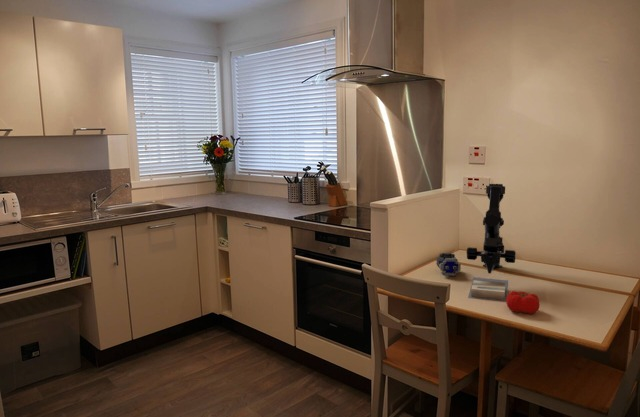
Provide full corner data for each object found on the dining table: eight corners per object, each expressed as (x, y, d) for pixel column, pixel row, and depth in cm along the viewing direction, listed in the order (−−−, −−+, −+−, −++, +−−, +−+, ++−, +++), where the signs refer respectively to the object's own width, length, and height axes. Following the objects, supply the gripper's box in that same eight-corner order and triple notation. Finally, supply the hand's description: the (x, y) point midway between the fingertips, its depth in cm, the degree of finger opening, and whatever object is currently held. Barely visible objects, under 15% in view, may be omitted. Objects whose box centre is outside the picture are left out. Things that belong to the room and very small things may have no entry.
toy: (441, 260, 203) (435, 251, 218) (441, 279, 205) (435, 269, 219) (461, 260, 203) (454, 251, 218) (461, 279, 204) (454, 269, 219)
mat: (473, 278, 205) (473, 277, 205) (507, 281, 200) (507, 280, 200) (467, 298, 180) (467, 297, 180) (507, 303, 174) (507, 302, 174)
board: (473, 279, 192) (471, 288, 181) (505, 282, 187) (504, 292, 176) (473, 287, 192) (471, 296, 181) (504, 290, 188) (504, 299, 177)
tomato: (537, 318, 160) (538, 300, 159) (503, 313, 165) (504, 295, 164) (540, 309, 168) (541, 291, 167) (507, 304, 173) (508, 287, 172)
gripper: (467, 228, 194) (464, 260, 185) (516, 230, 187) (515, 264, 178) (468, 242, 202) (465, 274, 194) (515, 245, 195) (514, 278, 187)
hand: (489, 273), depth 188 cm, fingers closed
